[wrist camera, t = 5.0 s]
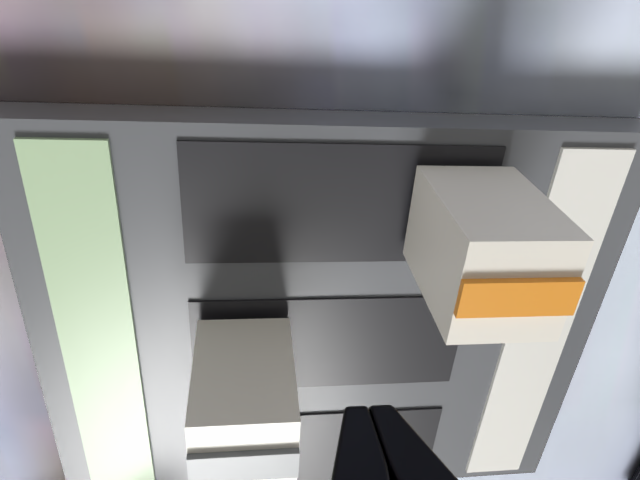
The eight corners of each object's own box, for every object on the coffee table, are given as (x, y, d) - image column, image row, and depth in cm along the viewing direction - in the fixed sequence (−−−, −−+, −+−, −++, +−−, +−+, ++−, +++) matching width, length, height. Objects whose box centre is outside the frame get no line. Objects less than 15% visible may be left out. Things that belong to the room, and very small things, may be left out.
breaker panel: (638, 118, 18) (671, 135, 17) (520, 445, 26) (536, 475, 25) (-7, 101, 16) (-33, 119, 14) (81, 470, 24) (70, 506, 22)
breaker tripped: (514, 166, 16) (599, 245, 12) (492, 252, 18) (561, 347, 14) (417, 165, 16) (472, 246, 12) (402, 252, 17) (448, 350, 14)
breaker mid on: (289, 318, 18) (301, 427, 14) (286, 383, 20) (296, 499, 16) (197, 320, 18) (183, 433, 14) (201, 387, 19) (190, 507, 15)
